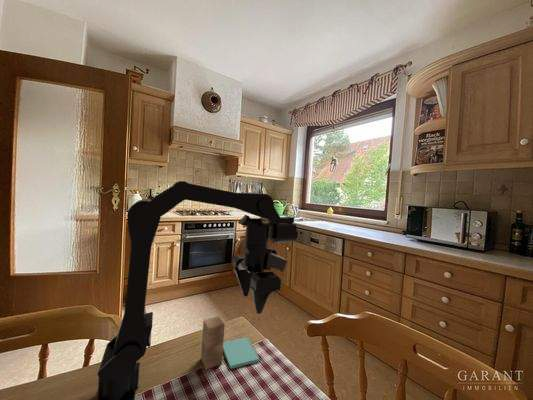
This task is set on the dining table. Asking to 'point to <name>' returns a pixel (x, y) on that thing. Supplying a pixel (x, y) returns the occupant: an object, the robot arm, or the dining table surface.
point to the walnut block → (212, 342)
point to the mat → (239, 353)
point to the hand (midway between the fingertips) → (251, 304)
